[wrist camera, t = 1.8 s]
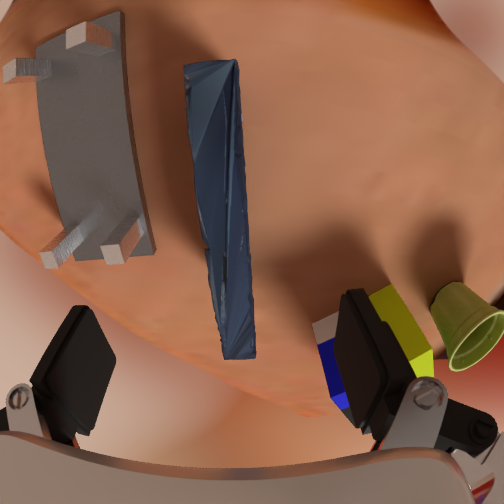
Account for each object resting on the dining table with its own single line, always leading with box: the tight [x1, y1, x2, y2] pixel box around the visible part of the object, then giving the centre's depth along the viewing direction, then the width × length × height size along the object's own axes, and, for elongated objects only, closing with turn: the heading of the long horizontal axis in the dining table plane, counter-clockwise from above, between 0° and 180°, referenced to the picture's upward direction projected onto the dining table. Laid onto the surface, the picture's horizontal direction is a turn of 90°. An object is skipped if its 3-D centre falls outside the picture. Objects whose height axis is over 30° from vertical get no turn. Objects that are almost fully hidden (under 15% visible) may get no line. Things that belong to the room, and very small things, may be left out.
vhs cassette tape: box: [184, 59, 256, 360], centre depth 19 cm, size 18×3×10 cm, turn 2°
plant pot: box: [430, 282, 504, 371], centre depth 27 cm, size 9×9×9 cm
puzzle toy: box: [312, 284, 434, 428], centre depth 28 cm, size 10×10×10 cm
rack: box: [3, 11, 157, 269], centre depth 18 cm, size 22×9×6 cm, turn 4°
